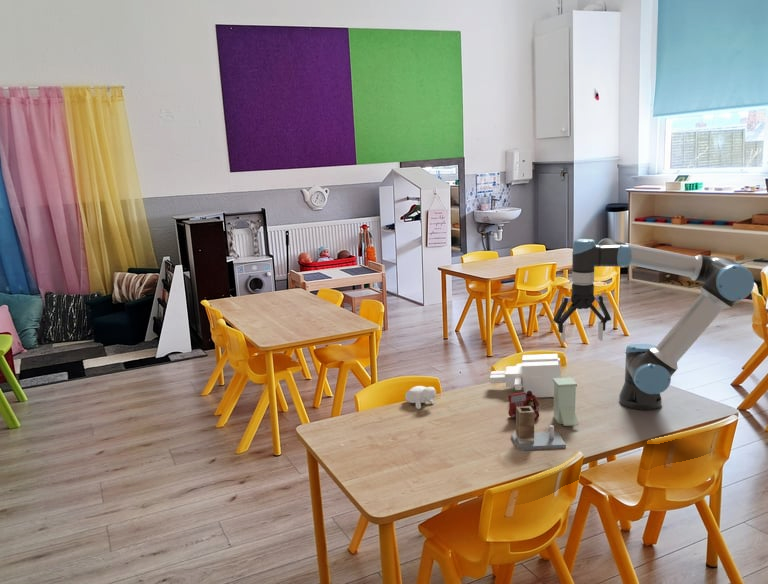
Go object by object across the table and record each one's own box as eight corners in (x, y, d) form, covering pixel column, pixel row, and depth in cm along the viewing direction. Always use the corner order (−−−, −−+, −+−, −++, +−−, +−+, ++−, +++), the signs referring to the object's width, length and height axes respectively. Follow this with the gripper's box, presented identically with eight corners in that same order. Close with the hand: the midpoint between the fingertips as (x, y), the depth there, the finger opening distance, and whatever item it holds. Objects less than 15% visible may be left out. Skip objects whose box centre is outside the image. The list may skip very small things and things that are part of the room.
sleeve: (530, 436, 222) (530, 406, 220) (534, 442, 217) (534, 412, 215) (516, 436, 222) (516, 406, 220) (519, 443, 217) (519, 412, 215)
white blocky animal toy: (405, 410, 259) (428, 408, 246) (400, 390, 259) (422, 386, 247) (422, 405, 263) (444, 402, 251) (416, 385, 264) (439, 381, 252)
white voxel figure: (494, 383, 281) (561, 381, 274) (490, 405, 257) (563, 403, 250) (491, 350, 278) (558, 347, 271) (487, 370, 255) (560, 367, 248)
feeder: (570, 415, 240) (571, 377, 237) (580, 429, 229) (581, 389, 225) (552, 416, 240) (552, 378, 237) (561, 430, 228) (562, 390, 225)
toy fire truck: (543, 419, 238) (544, 392, 236) (514, 425, 234) (514, 398, 232) (533, 412, 245) (533, 386, 242) (504, 417, 241) (504, 391, 239)
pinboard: (557, 434, 225) (557, 419, 224) (565, 447, 215) (566, 432, 214) (511, 437, 225) (511, 422, 223) (518, 450, 215) (518, 434, 214)
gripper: (613, 279, 234) (611, 335, 238) (545, 282, 233) (544, 339, 238) (621, 283, 226) (619, 341, 231) (550, 286, 226) (550, 345, 231)
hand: (581, 340), depth 235 cm, fingers open, 13 cm apart
